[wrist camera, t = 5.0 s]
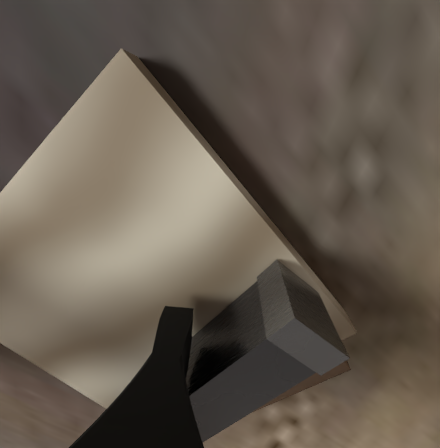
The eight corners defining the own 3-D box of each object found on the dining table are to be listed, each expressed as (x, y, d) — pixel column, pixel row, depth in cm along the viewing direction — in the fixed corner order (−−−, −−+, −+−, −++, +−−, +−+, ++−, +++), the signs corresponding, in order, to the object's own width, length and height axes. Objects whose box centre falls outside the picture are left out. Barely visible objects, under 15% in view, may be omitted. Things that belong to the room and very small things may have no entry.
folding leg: (144, 424, 16) (126, 494, 13) (106, 406, 15) (77, 476, 12) (320, 293, 11) (351, 359, 8) (275, 257, 10) (292, 316, 8)
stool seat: (-52, 273, 13) (-123, 315, 11) (137, 56, 9) (97, 36, 6) (152, 408, 18) (138, 462, 15) (344, 310, 14) (373, 361, 11)
